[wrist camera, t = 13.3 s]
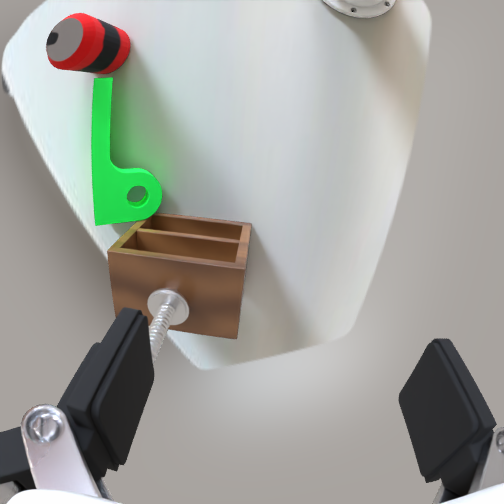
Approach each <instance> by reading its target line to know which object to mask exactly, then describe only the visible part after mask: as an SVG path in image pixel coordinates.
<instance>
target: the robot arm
mask: <svg viewBox="0 0 504 504" xmlns="http://www.w3.org/2000/svg"><path fill="white" fill-rule="evenodd" d="M323 1H324V2H325V3H326V4H328V5H329V6H330V7H332V8H333V9H335V10H337V11H339V12H341V13H343V14H345V15H349V16H352V17H358V18H372V17H377V16H379V15H382V14H384V13H385V12H387V11H388V10H389V9H390V8H391V7H392V6H393V4H394V3H395V1H396V0H323ZM385 5H386V6H385ZM351 10H352V11H354V13H353V12H352V11H351ZM153 381H154V368H153V360H152V353H151V344H150V335H149V326H148V318H147V316H144V315H143V313H142V311H141V310H137V309H132V308H127V307H124V308H122V310H121V311H120V313H119V314H118V316H117V317H116V319H115V321H114V322H113V324H112V325H111V327H110V329H109V330H108V332H107V334H106V335H105V337H104V339H103V340H102V342H101V343H95V344H94V345H93V346H92V347H91V349H90V350H89V352H88V354H87V355H86V357H85V359H84V361H83V362H82V363H81V365H80V367H79V368H78V370H77V372H76V373H75V375H74V377H73V379H72V380H71V382H70V384H69V386H68V387H67V389H66V391H65V393H64V394H63V396H62V398H61V400H60V402H59V403H58V405H57V407H56V406H53V405H49V404H41V405H37V406H34V407H32V408H31V409H29V410H28V411H27V412H26V413H25V415H24V416H23V418H22V422H21V426H20V427H17V428H14V429H11V430H7V431H4V432H0V504H123V503H119V502H115V501H114V500H113V498H112V496H111V494H110V492H109V490H108V488H107V486H106V484H105V482H104V480H103V478H102V477H104V476H105V474H106V471H107V468H108V469H111V470H114V471H117V470H118V467H119V464H120V465H124V464H125V462H126V460H127V457H128V454H129V451H130V447H131V444H132V442H133V439H134V436H135V433H136V430H137V427H138V424H139V421H140V418H141V415H142V413H143V410H144V407H145V404H146V401H147V398H148V396H149V393H150V390H151V387H152V385H153ZM399 404H400V407H401V410H402V413H403V416H404V419H405V422H406V425H407V429H408V432H409V435H410V438H411V442H412V445H413V448H414V451H415V455H416V459H417V462H418V466H419V469H420V473H421V475H422V476H424V477H425V481H426V483H429V482H433V481H436V480H439V479H440V478H441V480H442V484H441V486H440V488H439V490H438V493H437V495H436V497H435V499H434V501H433V503H432V504H504V427H500V428H498V429H497V430H496V431H495V432H493V430H492V429H493V428H494V427H495V426H496V425H497V424H496V422H495V419H494V417H493V415H492V414H491V411H490V409H489V407H488V406H487V404H486V402H485V400H484V398H483V396H482V394H481V392H480V390H479V389H478V387H477V385H476V383H475V381H474V379H473V377H472V376H471V374H470V372H469V370H468V369H467V367H466V365H465V363H464V362H463V360H462V358H461V357H460V355H459V353H458V352H457V350H456V348H455V347H454V345H453V343H452V342H451V341H450V340H449V339H434V340H433V341H432V342H431V343H429V344H428V346H427V347H426V349H425V351H424V353H423V355H422V356H421V358H420V360H419V362H418V364H417V365H416V367H415V369H414V371H413V372H412V374H411V376H410V377H409V379H408V381H407V382H406V384H405V386H404V387H403V389H402V390H401V392H400V394H399Z"/></svg>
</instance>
